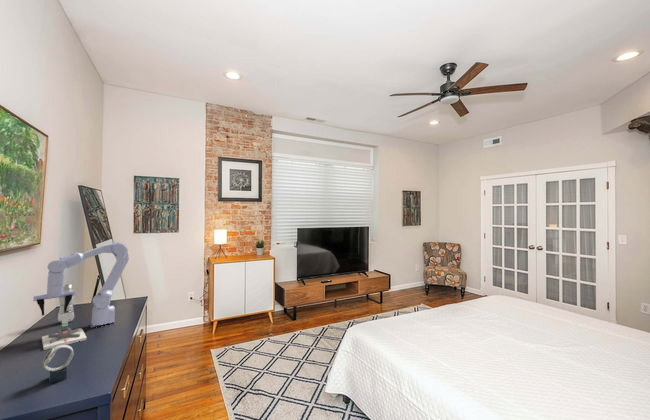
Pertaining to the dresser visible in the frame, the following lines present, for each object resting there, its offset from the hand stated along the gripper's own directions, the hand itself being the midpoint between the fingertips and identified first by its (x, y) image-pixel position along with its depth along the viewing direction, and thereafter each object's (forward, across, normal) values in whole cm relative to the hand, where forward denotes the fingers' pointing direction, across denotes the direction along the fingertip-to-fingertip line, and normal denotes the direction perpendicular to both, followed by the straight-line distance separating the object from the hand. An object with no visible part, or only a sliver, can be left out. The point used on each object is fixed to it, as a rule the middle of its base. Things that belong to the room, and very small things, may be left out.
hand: (54, 313), depth 134 cm
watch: (+11, +2, +52) cm, 53 cm away
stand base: (+10, -3, +11) cm, 15 cm away
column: (+4, -3, +11) cm, 12 cm away
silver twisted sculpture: (+11, -6, -18) cm, 22 cm away
